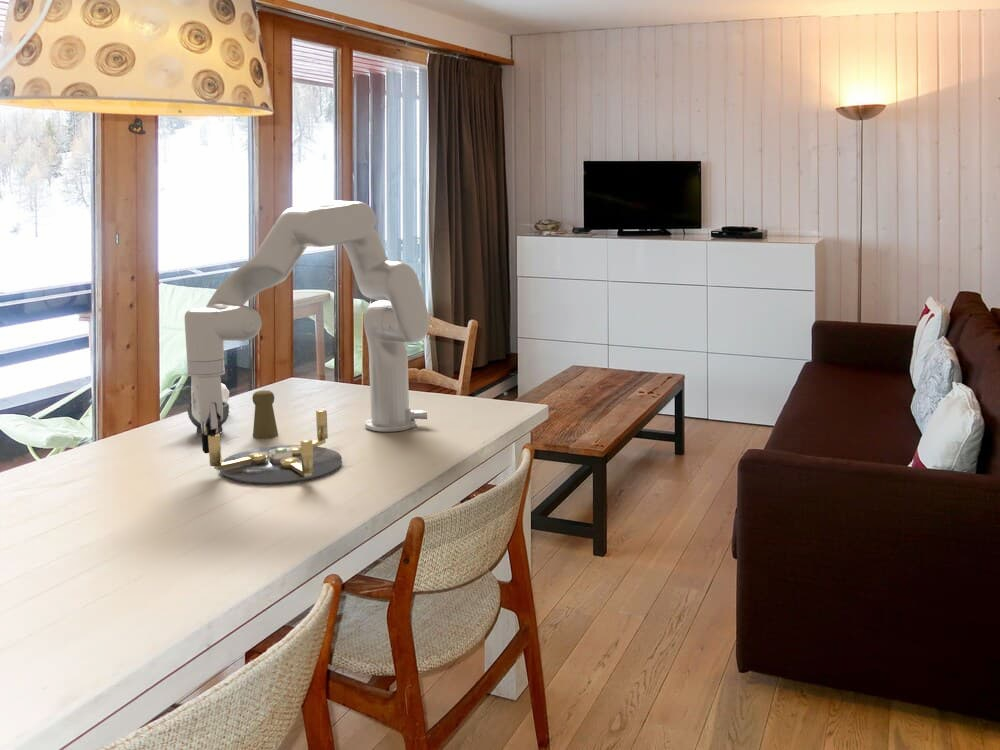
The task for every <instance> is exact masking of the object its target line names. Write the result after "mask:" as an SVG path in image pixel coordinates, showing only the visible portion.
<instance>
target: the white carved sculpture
mask: <svg viewBox="0 0 1000 750" xmlns="http://www.w3.org/2000/svg"><path fill="white" fill-rule="evenodd" d="M221 388H222V400H223V402H227V403H228V401H229V400H230V390H229V389H228V388H227V386H226V384H224V383H222V382H221Z"/></svg>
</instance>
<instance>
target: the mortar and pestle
mask: <svg viewBox="0 0 1000 750" xmlns="http://www.w3.org/2000/svg"><path fill="white" fill-rule="evenodd" d="M179 393H180V394H181V395H183V397H184V398H185V399H186V400H185V401H187V403H188V405H187V406H186V408H187V409H186V410H187V415H188V418H189V420H190V422H191V423H192V424H193V426H195V427H196V434H197V433H198V434H201V435H200V436H202V434H203V433H202V429H201V423H199V422H198V421H197V420H196V419H195V418H194V417H193V416H192V403H191V386H190V385H186V386H184V387H182V388H181V389H180V390H179ZM228 413H229V414H230V404H229V403H228V402H223V420H222V421H221V422H219V421H218V433H220V432H222V431H224V430H223V425H224V423H226V421H227V419H228V417H229V414H228ZM222 433H223V432H222ZM198 434H197V435H198ZM220 434H221V433H220Z"/></svg>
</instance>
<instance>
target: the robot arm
mask: <svg viewBox="0 0 1000 750" xmlns="http://www.w3.org/2000/svg"><path fill="white" fill-rule="evenodd" d="M376 223H377V218H376V214H375V211H374V210H373V208H372V207H371V206H370V205H369V204H367V203H365V202H362V201H354V200H351V201H350V200H332V199H331V200H329V199H328V200H323V201H320V202H318V203H316V204H315V205H314V206H313V207H301V206H297V207H296V206H294V207H289V208H287V209H285V210H284V211H283V212H281V214H280V216H279V217H278V218H277V220H276V221H275V223H274V224H273V226H272V227H271V229H270V230H269V232H268V234H267V235H266V237H265V238H264V240H263V241H262V243H260V245H259V248H258V249H257V250H256V252H255V253H254V255H252V257H251V258H250V259H249V260H248V261H246V262H245V263H243V264H242V265H241V266H240V267H239V268H237V269H236V270H234V271H233V273H231V274H230V275H229V276H227V277H226V278H225V279H224V280H223V281H221V284H220V285H219V286H218V288H217V289H216V290H215V292H214V293H213V295H212V296H211V298H210V299H209V301H208V303H207V304H206V306H205V307H197V308H191V309H188V310H187V311H186V312H185V313H184V329H185V330H184V331H185V333H184V334H185V346H186V347H185V348H186V349H185V350H186V364H187V365H186V366H187V376H189V377H191V379H190V380H191V381H190V382H191V383H190V385H191V386H190V387H191V403H192V416H193V417H194V418H195V419H196V420H197V421H198V422H199V423H201V429H202V433H203V434H202V435H201V446H202V447H201V448H202V449H201V450H202V452H203V453H204V454H209V444H208V435H210V434H218V421H219V422H221V421H222V420H223V400H222V388H221V383H222V380H221V379H222V378H221V376H223V375H225V373H226V370H225V368H226V367H225V349H224V347H225V345H224V342H226V341H234V342H235V341H236V342H237V341H238V342H240V341H241V342H244V341H249V340H251V339H253V338H255V337H256V336H257V335H258V334H259V332H260V330H262V325H263V323H262V317H261V315H260V313H259V312H258V311H257V310H256V309H254V308H253V307H250V306H248V305H245V304H247V302H248V301H249V300H250V299H251V298H253V297H255V295H257V294H258V293H260V292H263V291H265V290H267V289H270V288H272V287H275V286H277V285H279V284H281V283H283V282H285V281H286V280H287V279H288V277H289V275H290V274H291V273H292V271H293V269H294V268H295V266H296V265H297V263H298V261H299V260H300V258H301V257H302V255H303V254H304V252H305V251H306V249H307V248H308V247H315V248H324V247H332V246H339V245H342V246H343V247H344V249H345V251H346V253H347V256H348V259H349V261H350V265H351V268H352V271H353V274H354V277H355V282H356V285H357V286H358V289H359V291H360V293H361V294H362V295H363V296H364V297H366V298H368V299H371V300H376V301H373V302H372V303H370V304H369V305H368V306H367V308H366V310H365V311H364V314H363V327H364V333H365V337H366V341H367V347H368V348H367V349H368V362H369V364H368V365H369V390H370V391H369V392H370V393H369V394H370V396H369V398H370V413H371V414H370V417H371V418H369V419H367V420H366V421H365V423H364V426H365V428H366V429H367V430H370V431H374V432H382V433H383V432H384V433H387V432H388V433H389V432H390V433H392V432H400V431H407V430H410V429H413V428H415V426H417V425H416V423H417V421H416V420H428V411H424V410H414V409H412V408H411V407H412V405H411V404H410V397H409V395H410V393H409V357H408V352H407V348H406V345H405V343H407V344H408V343H409V344H413V343H415V344H416V343H419V342H421V341H423V339H425V338H426V336H428V335H427V334H428V333H429V329H430V316H429V312H428V308H427V307H428V306H427V304H426V300H425V297H424V294H423V293H424V292H423V290H422V286H421V284H420V280H419V277H418V275H417V273H416V272H415V270H414V268H413V267H411V266H410V265H409V264H408V263H405V262H403V261H397V260H396V261H395V260H390V259H389V258H388V256H387V254H386V252H385V249H384V245H383V243H382V240H381V238H380V236H379V234H378V232H377V230H376V228H375V227H376Z"/></svg>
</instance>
